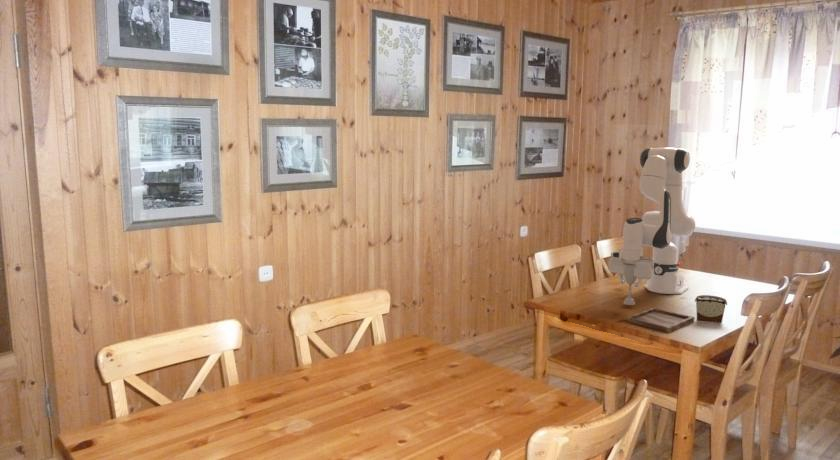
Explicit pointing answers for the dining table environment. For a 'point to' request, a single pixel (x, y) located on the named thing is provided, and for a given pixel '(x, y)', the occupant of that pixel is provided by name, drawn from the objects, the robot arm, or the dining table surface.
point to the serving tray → (660, 320)
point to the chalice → (629, 282)
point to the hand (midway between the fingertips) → (630, 285)
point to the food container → (710, 308)
